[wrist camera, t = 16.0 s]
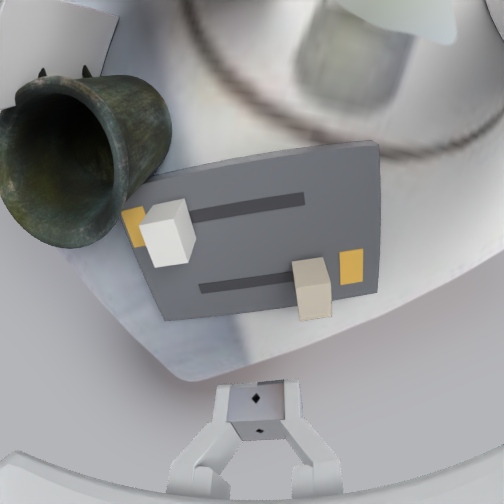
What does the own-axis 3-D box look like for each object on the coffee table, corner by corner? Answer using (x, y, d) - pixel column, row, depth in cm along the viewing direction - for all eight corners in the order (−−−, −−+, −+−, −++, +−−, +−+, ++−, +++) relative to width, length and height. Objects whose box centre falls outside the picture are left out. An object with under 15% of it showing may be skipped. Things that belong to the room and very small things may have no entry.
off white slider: (184, 198, 26) (173, 218, 23) (196, 238, 28) (188, 262, 25) (153, 205, 27) (138, 225, 23) (166, 243, 29) (154, 267, 25)
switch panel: (371, 140, 25) (379, 145, 24) (372, 281, 34) (377, 293, 32) (119, 184, 28) (110, 192, 26) (168, 309, 36) (164, 321, 34)
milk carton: (98, 88, 23) (-73, 141, 7) (42, 78, 22) (-117, 127, 5) (120, 16, 19) (-46, -15, 3) (61, 12, 18) (-99, 9, 2)
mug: (103, 200, 29) (40, 267, 19) (47, 78, 22) (-41, 98, 12) (197, 160, 27) (160, 218, 17) (139, 19, 20) (65, -6, 9)
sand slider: (322, 256, 29) (330, 282, 26) (324, 289, 31) (331, 316, 28) (291, 261, 29) (295, 287, 26) (295, 293, 32) (299, 321, 28)
